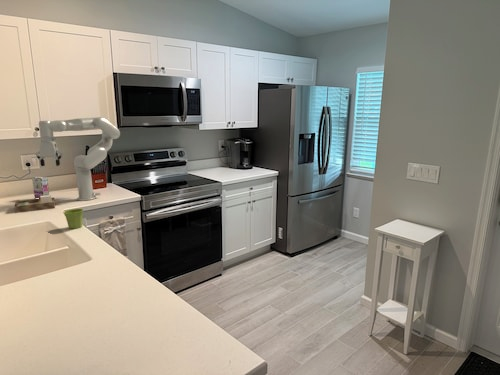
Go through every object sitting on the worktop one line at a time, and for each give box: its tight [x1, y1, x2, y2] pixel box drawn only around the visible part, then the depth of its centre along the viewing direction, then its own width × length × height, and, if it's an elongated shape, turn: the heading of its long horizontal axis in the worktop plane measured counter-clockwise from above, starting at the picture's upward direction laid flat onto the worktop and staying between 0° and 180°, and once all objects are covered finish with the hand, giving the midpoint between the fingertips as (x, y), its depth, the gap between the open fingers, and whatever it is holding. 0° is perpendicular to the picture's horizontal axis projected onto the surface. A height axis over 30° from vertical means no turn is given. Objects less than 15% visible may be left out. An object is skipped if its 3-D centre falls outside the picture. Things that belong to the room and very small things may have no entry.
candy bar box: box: [31, 176, 50, 199], centre depth 250 cm, size 11×5×16 cm, turn 62°
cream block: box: [40, 194, 52, 203], centre depth 226 cm, size 6×5×4 cm
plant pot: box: [62, 208, 84, 230], centre depth 175 cm, size 9×9×9 cm
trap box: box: [14, 197, 56, 214], centre depth 223 cm, size 21×18×5 cm
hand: (50, 165), depth 228 cm, fingers open, 9 cm apart
